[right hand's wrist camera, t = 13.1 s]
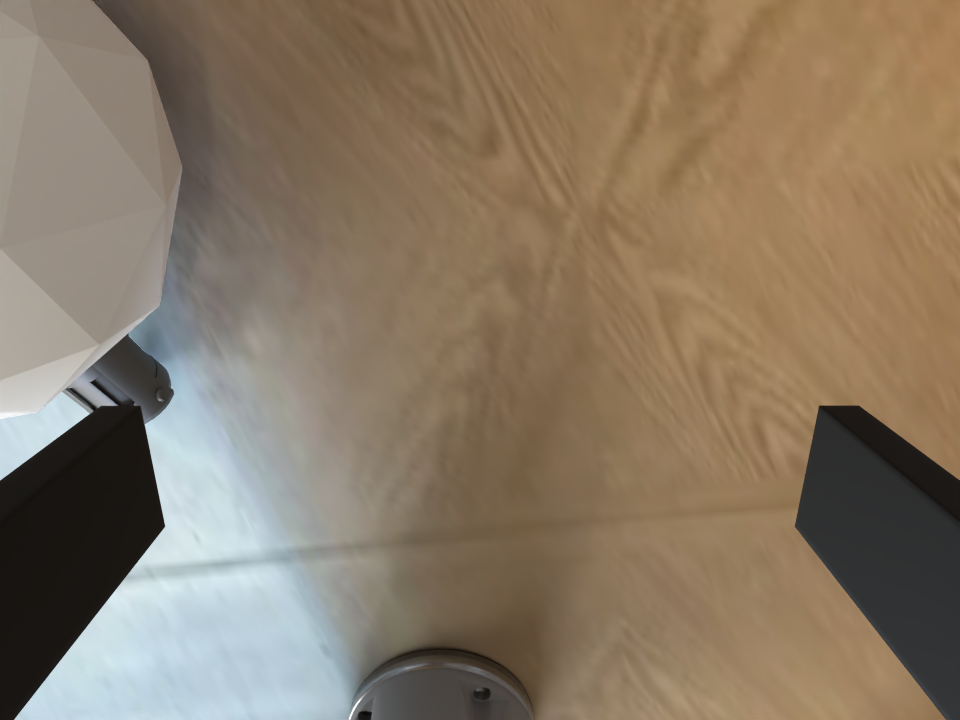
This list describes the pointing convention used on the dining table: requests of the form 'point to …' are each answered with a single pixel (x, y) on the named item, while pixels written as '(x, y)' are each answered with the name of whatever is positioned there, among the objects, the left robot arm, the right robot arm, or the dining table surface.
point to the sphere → (80, 210)
